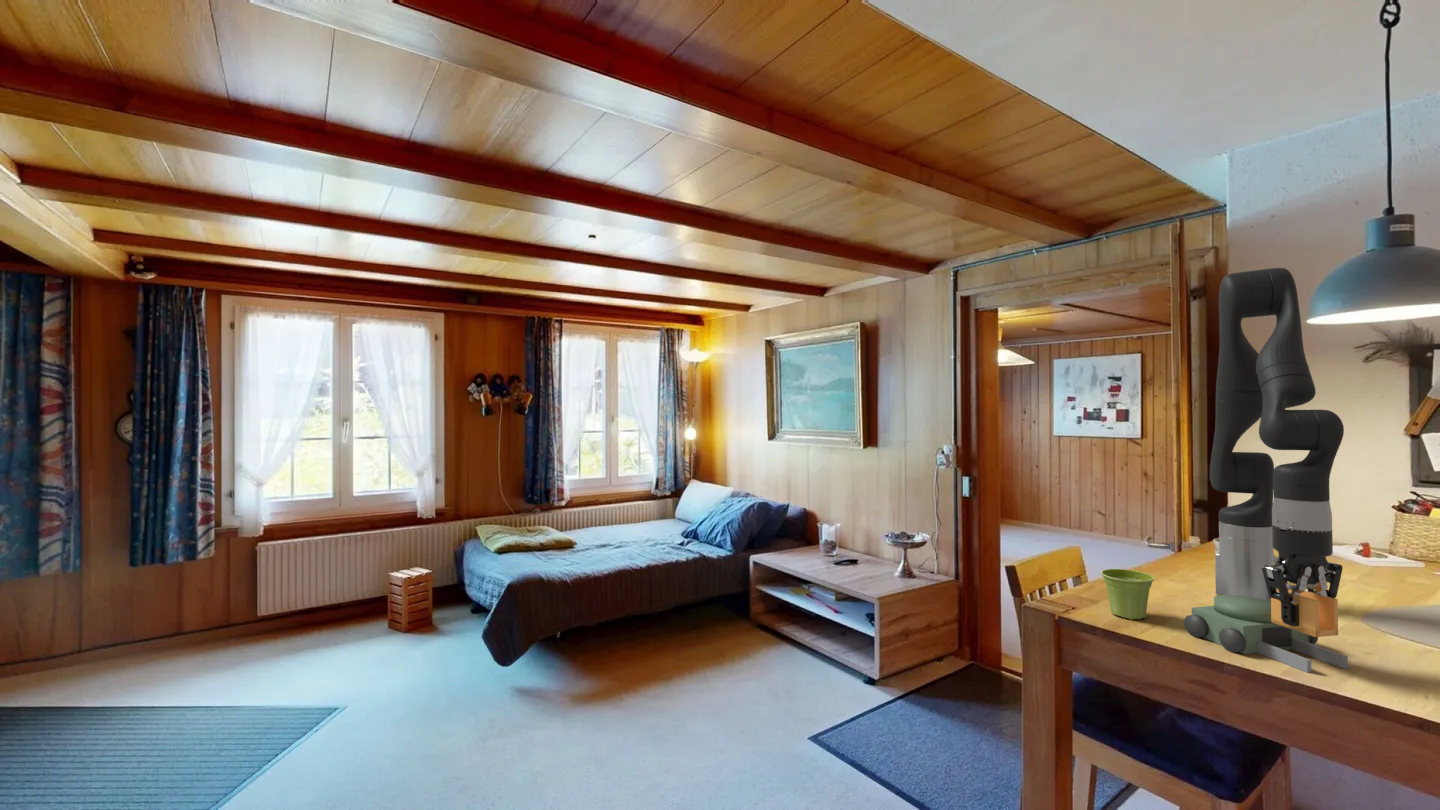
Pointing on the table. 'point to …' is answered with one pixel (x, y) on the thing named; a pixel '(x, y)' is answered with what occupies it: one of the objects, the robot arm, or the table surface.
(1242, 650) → the toy forklift
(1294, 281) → the robot arm
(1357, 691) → the table surface
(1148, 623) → the table surface
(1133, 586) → the plant pot
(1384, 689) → the table surface
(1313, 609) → the orange u-channel
